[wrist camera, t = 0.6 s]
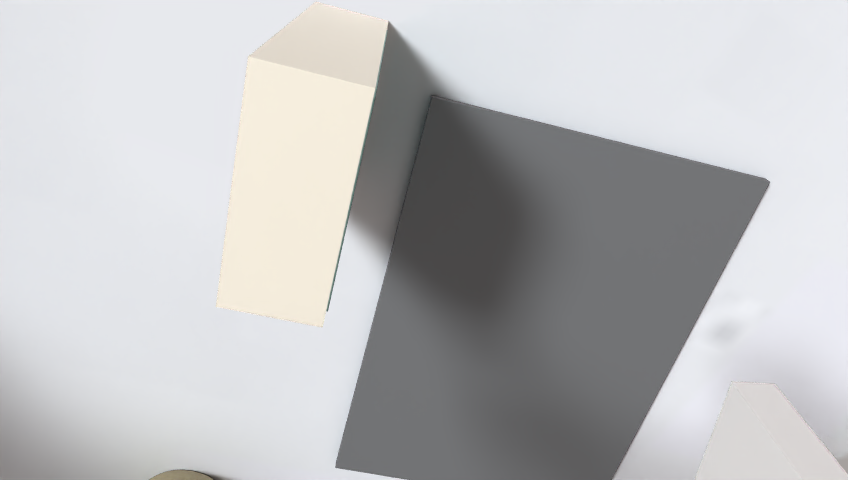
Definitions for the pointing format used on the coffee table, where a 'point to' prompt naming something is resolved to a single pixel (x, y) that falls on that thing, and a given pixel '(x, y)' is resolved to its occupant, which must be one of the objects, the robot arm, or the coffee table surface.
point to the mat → (534, 299)
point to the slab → (299, 162)
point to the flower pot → (181, 475)
